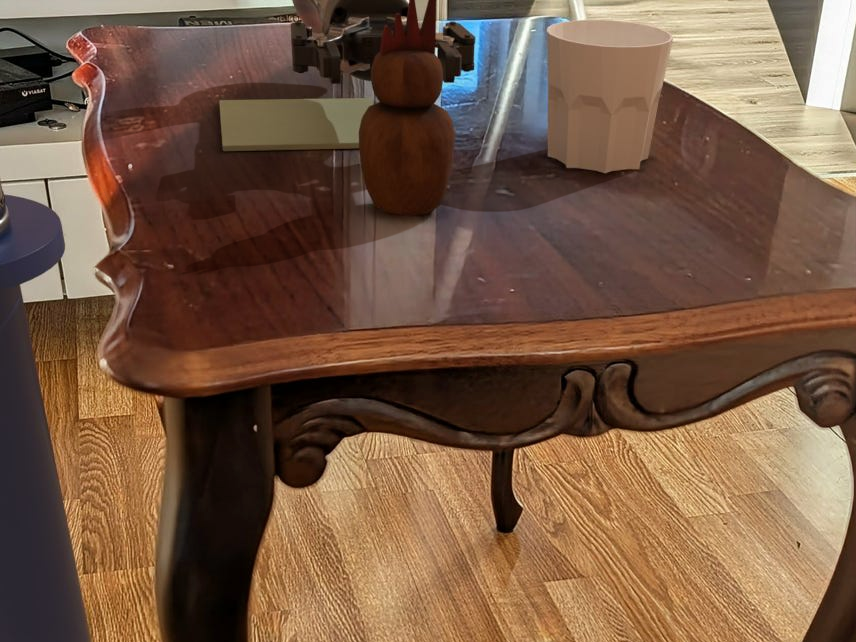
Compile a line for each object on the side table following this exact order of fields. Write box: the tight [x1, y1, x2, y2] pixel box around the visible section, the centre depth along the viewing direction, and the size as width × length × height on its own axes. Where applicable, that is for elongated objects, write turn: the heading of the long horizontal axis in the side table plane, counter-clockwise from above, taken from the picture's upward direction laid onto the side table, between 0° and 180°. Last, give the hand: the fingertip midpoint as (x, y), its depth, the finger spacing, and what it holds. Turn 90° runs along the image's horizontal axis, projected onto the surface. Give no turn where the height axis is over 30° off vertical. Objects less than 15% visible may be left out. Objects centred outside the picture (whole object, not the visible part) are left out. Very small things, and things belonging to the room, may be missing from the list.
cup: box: [546, 19, 674, 174], centre depth 94 cm, size 10×10×10 cm
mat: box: [218, 97, 375, 152], centre depth 101 cm, size 14×14×1 cm
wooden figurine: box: [358, 0, 456, 217], centre depth 81 cm, size 7×6×15 cm
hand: (394, 69), depth 85 cm, fingers open, 8 cm apart
